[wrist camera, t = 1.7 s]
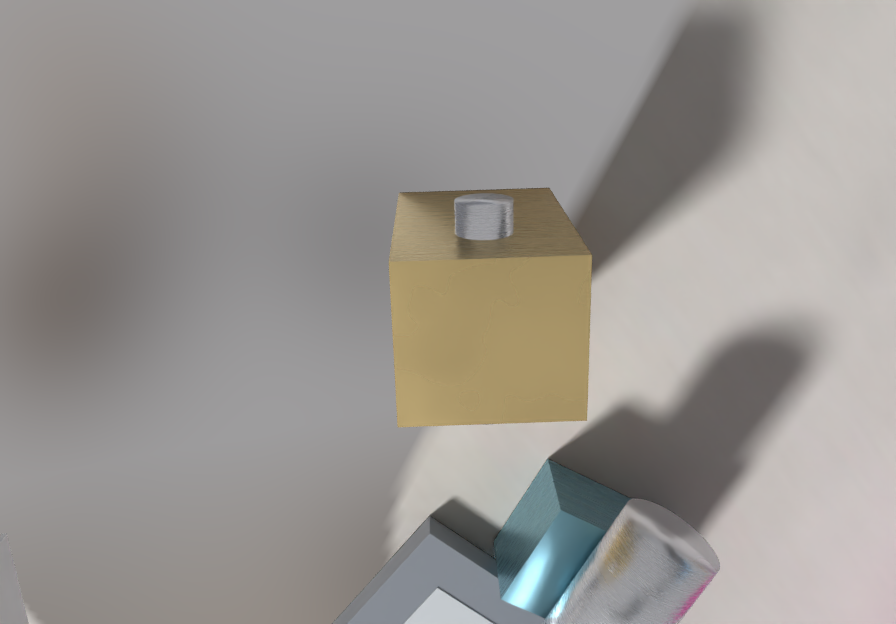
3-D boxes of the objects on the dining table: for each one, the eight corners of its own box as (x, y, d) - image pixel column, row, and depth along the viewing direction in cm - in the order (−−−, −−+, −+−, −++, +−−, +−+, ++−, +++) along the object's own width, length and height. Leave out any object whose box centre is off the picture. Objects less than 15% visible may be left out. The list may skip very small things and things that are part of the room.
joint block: (397, 165, 25) (386, 225, 18) (549, 160, 25) (593, 219, 18) (406, 344, 27) (399, 457, 20) (547, 339, 27) (586, 450, 20)
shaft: (571, 422, 28) (607, 530, 22) (699, 484, 29) (765, 604, 23) (472, 573, 30) (482, 708, 24) (595, 627, 31) (633, 770, 25)
